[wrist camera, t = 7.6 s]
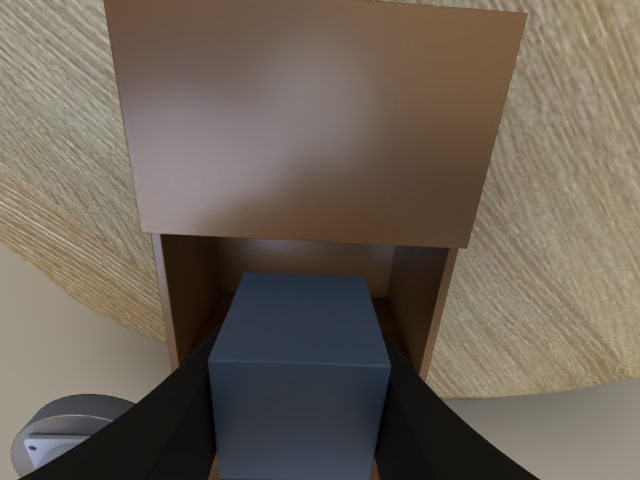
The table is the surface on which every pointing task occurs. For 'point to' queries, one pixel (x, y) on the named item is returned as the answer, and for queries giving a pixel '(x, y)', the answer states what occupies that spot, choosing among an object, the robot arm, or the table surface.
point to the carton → (309, 147)
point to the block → (298, 379)
